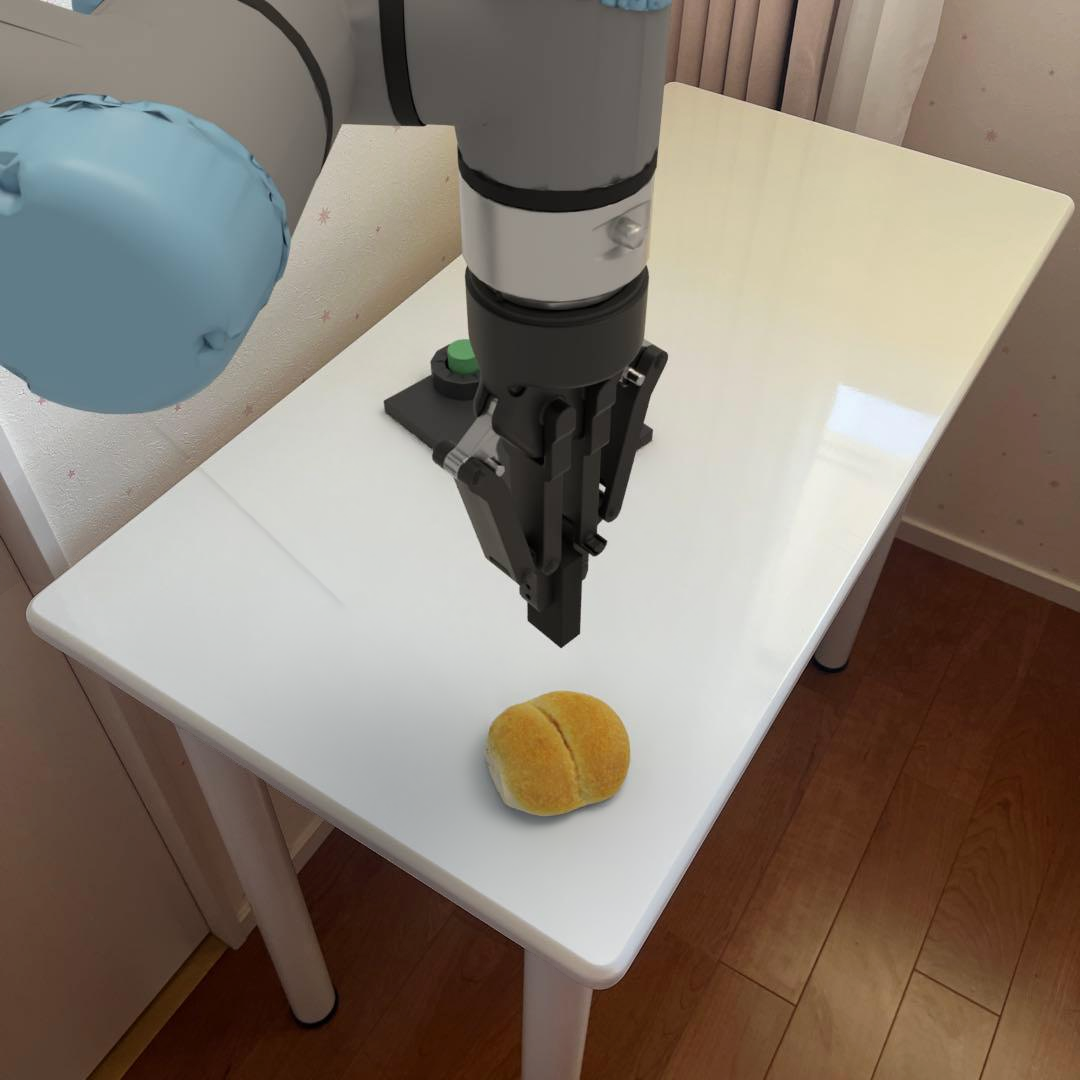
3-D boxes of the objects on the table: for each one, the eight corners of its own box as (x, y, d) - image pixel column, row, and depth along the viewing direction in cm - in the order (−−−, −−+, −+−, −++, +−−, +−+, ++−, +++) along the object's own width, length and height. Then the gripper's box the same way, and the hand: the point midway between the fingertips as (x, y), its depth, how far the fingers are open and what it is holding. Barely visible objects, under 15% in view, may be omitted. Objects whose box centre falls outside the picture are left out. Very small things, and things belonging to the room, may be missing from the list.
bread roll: (649, 790, 69) (654, 755, 66) (515, 839, 66) (514, 805, 64) (596, 689, 74) (599, 652, 71) (470, 730, 72) (467, 695, 69)
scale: (382, 409, 94) (378, 381, 92) (505, 341, 100) (504, 314, 98) (527, 523, 85) (526, 495, 82) (652, 440, 91) (655, 412, 89)
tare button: (441, 364, 94) (440, 348, 93) (466, 351, 95) (465, 334, 94) (463, 380, 92) (461, 363, 91) (488, 366, 94) (487, 349, 92)
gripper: (499, 372, 40) (513, 737, 57) (732, 236, 46) (681, 602, 63) (371, 286, 43) (420, 653, 61) (602, 171, 49) (587, 533, 67)
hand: (553, 627), depth 62 cm, fingers closed
